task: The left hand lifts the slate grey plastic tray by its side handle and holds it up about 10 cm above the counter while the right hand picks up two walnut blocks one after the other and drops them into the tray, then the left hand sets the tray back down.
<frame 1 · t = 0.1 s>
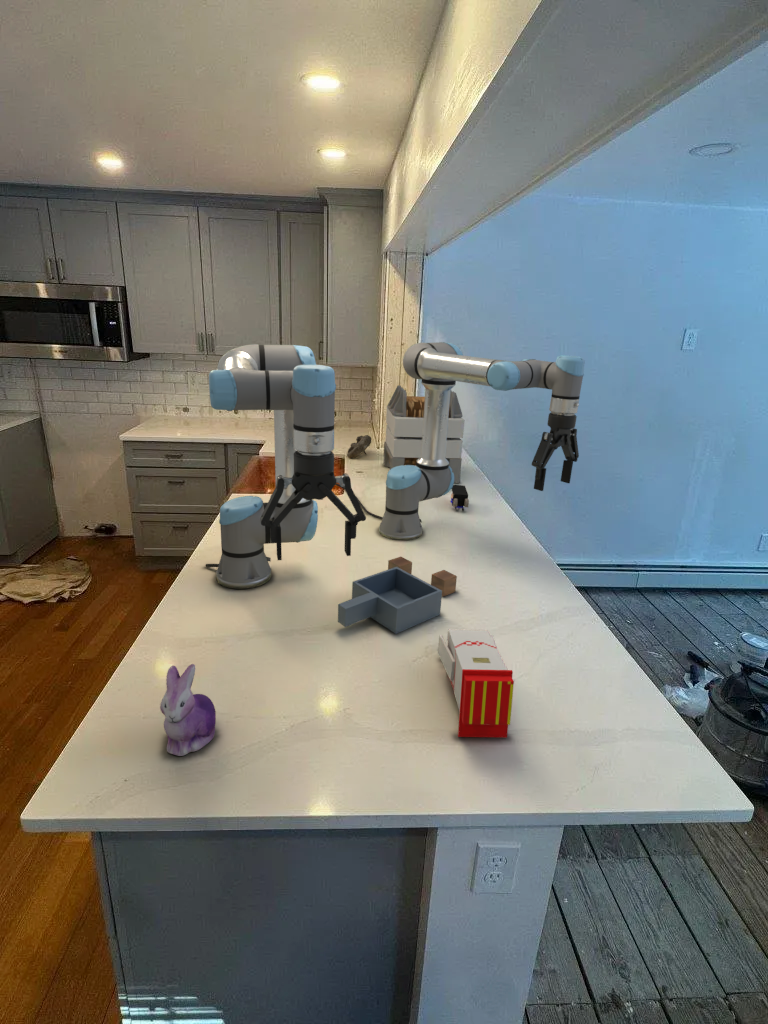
left hand: (313, 555, 113), 28 cm above the counter, fingers open, 13 cm apart
right hand: (552, 485, 166), 28 cm above the counter, fingers open, 13 cm apart
figurine: (191, 739, 102), on the counter
tray: (395, 609, 149), on the counter
white crate: (419, 473, 275), on the counter
figurine character: (458, 507, 230), on the counter
walnut block 2: (442, 590, 161), on the counter
fossil: (359, 454, 305), on the counter
toy: (469, 691, 119), on the counter
walnut block 1: (399, 576, 168), on the counter
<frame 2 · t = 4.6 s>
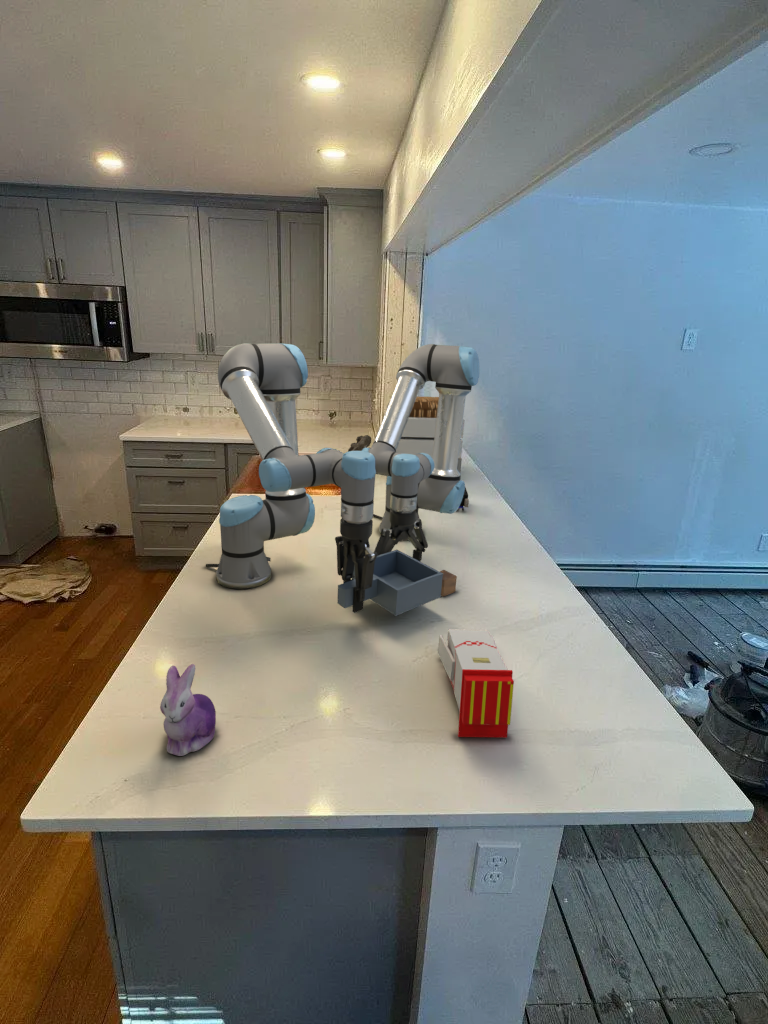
left hand: (353, 607, 139), 5 cm above the counter, fingers closed on tray, 3 cm apart
right hand: (398, 576, 168), 0 cm above the counter, fingers open, 13 cm apart
tray: (395, 592, 148), point 5 cm above the counter, touching left hand
everything else where it was.
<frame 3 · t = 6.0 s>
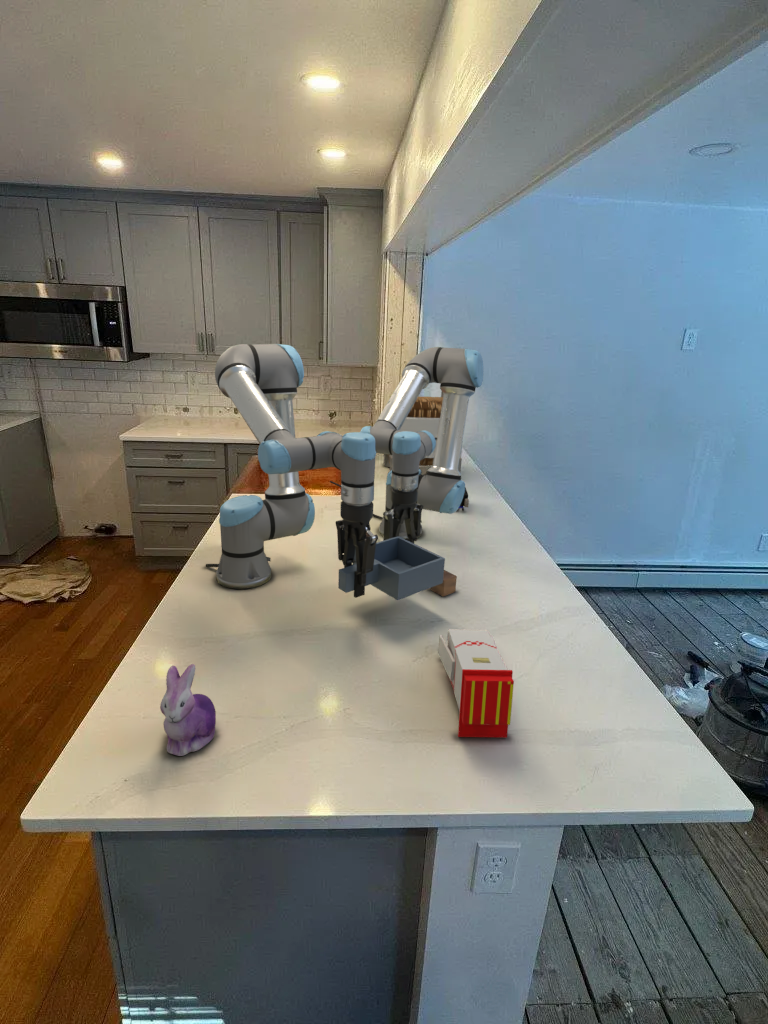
left hand: (354, 592, 138), 10 cm above the counter, fingers closed on tray, 3 cm apart
right hand: (400, 562, 167), 4 cm above the counter, fingers closed on walnut block 1, 5 cm apart
tray: (397, 578, 146), point 9 cm above the counter, touching left hand
walnut block 1: (401, 563, 167), point 4 cm above the counter, touching right hand
everything else where it was.
when the right hand's fingers open (19 cm above the counter, at t = 8.9 s): walnut block 1 drops 9 cm, resting on tray.
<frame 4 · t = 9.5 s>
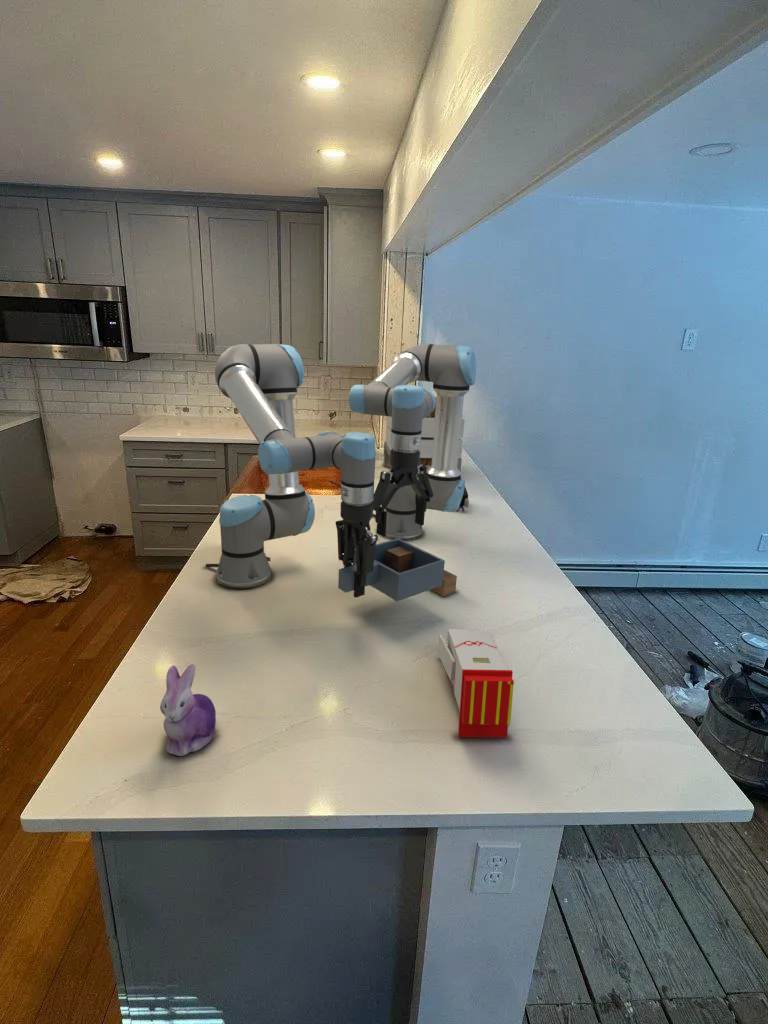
left hand: (354, 592, 138), 10 cm above the counter, fingers closed on tray, 3 cm apart
right hand: (400, 529, 148), 21 cm above the counter, fingers open, 13 cm apart
tray: (396, 580, 146), point 9 cm above the counter, touching left hand, walnut block 1
walnut block 1: (398, 568, 151), point 9 cm above the counter, touching tray
everything else where it was.
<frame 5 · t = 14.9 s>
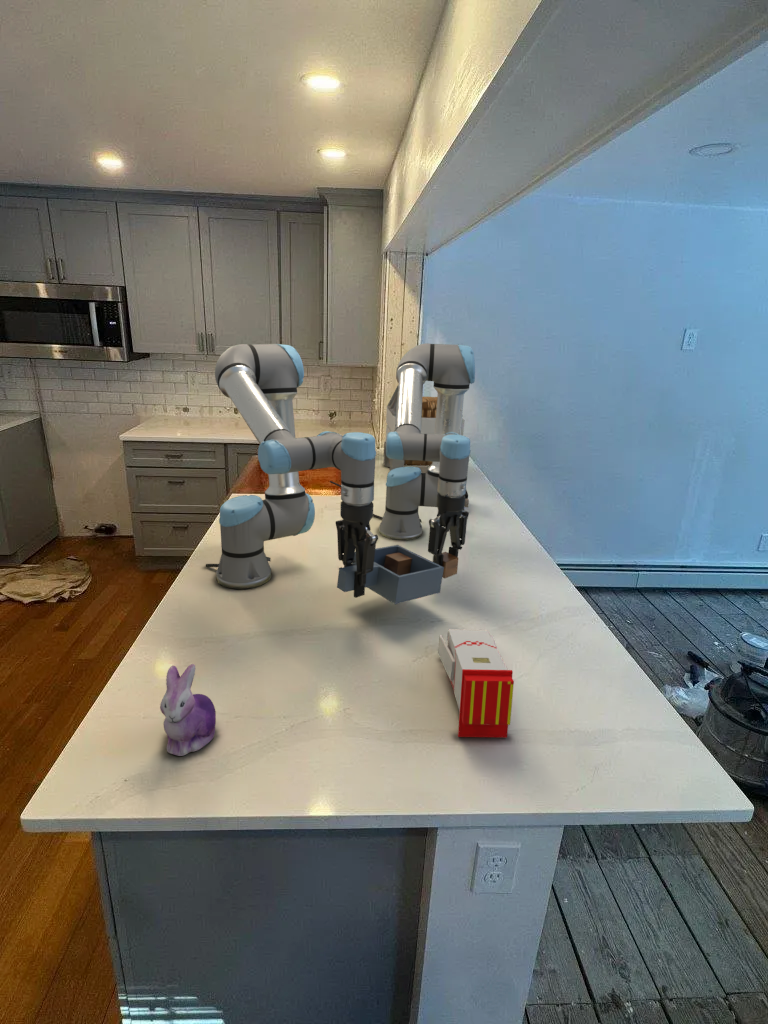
left hand: (354, 592, 138), 10 cm above the counter, fingers closed on tray, 3 cm apart
right hand: (444, 571, 159), 6 cm above the counter, fingers closed on walnut block 2, 5 cm apart
tray: (394, 584, 146), point 8 cm above the counter, tilted 6°, touching left hand, walnut block 1
walnut block 2: (444, 572, 159), point 5 cm above the counter, touching right hand
walnut block 1: (396, 574, 152), point 8 cm above the counter, tilted 6°, touching tray
everything else where it was.
when the right hand's fingers open (19 cm above the counter, at t = 17.8 s): walnut block 2 drops 18 cm, resting on tray.
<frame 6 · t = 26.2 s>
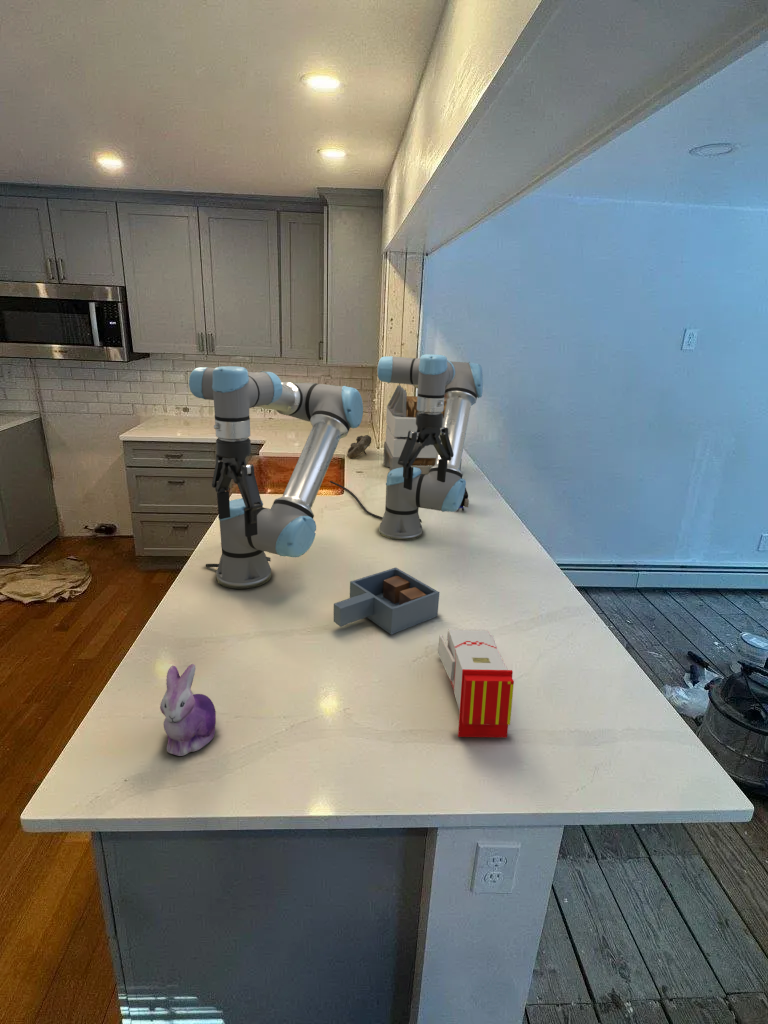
left hand: (237, 526, 134), 25 cm above the counter, fingers open, 13 cm apart
right hand: (424, 484, 165), 27 cm above the counter, fingers open, 13 cm apart
tray: (392, 610, 149), on the counter, touching walnut block 1, walnut block 2
walnut block 2: (411, 610, 148), point 1 cm above the counter, touching tray
walnut block 1: (395, 597, 154), point 1 cm above the counter, touching tray
everything else where it was.
at the end: walnut block 1 inside the target area on the tray (5.7 cm from its centre), point 0.8 cm above the tray's base; walnut block 2 inside the target area on the tray (5.0 cm from its centre), point 0.8 cm above the tray's base; the left hand is holding nothing; the right hand is holding nothing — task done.
